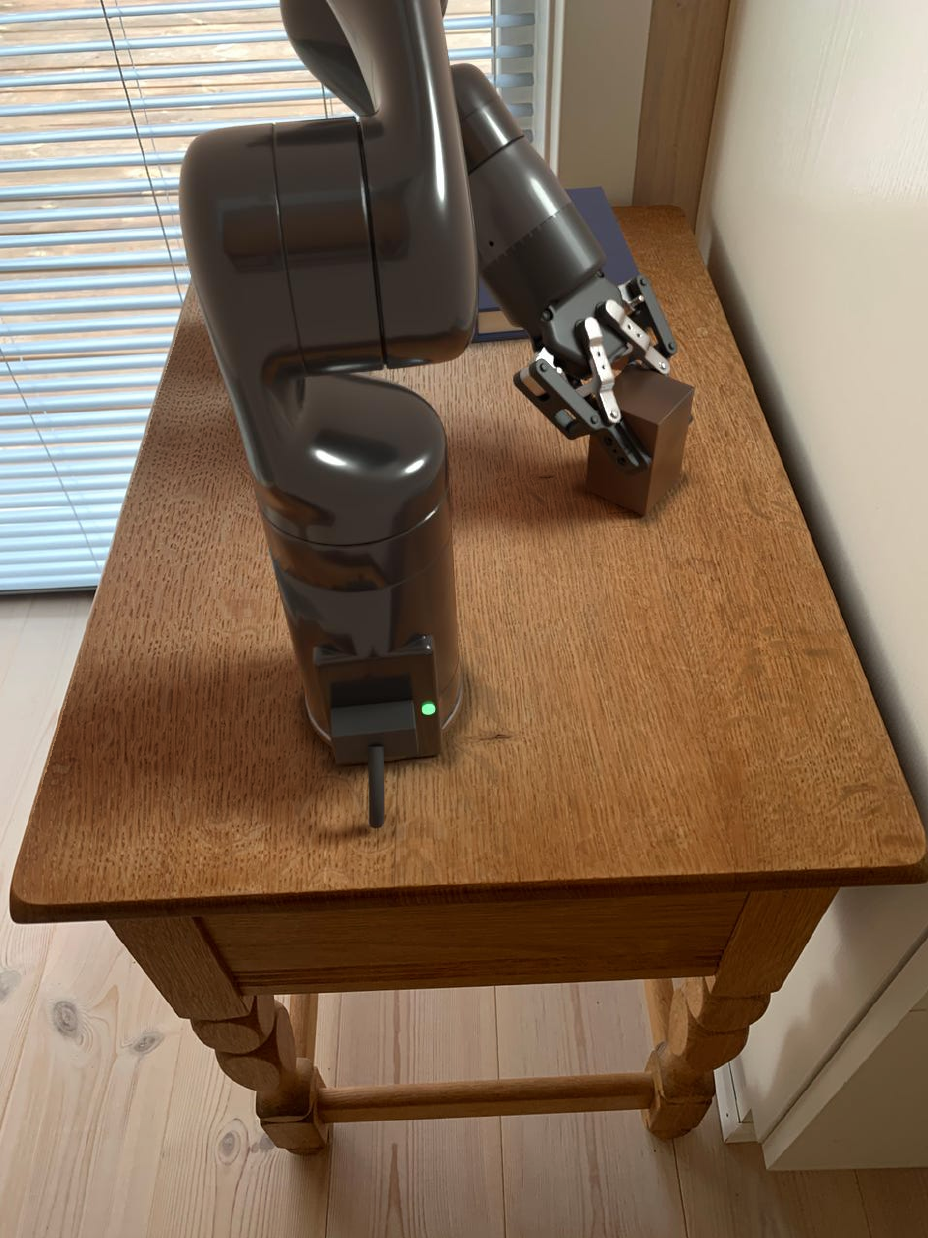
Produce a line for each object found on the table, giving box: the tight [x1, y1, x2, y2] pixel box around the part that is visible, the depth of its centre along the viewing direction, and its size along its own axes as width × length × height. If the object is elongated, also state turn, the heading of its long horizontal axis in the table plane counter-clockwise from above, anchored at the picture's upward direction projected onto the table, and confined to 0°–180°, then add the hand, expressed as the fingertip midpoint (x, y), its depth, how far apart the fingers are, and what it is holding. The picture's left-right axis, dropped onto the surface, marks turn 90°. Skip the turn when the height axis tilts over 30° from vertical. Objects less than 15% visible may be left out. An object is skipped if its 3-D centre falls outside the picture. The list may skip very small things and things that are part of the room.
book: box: [470, 186, 641, 344], centre depth 90 cm, size 20×15×3 cm
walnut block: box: [584, 363, 696, 517], centre depth 69 cm, size 5×5×8 cm
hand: (661, 447), depth 68 cm, fingers closed on walnut block, 5 cm apart
